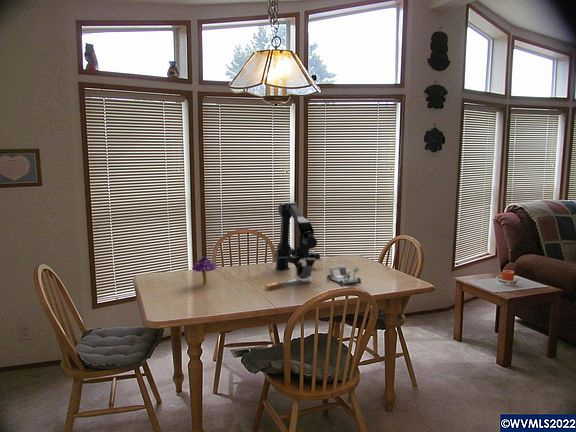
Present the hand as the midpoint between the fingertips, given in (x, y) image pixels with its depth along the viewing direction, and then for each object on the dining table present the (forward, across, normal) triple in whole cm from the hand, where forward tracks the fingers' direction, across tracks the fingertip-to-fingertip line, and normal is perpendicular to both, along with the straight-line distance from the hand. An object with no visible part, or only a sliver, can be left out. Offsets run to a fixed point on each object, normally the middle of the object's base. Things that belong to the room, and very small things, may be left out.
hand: (303, 273), depth 242 cm
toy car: (+5, -17, +14) cm, 23 cm away
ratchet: (+4, +10, 0) cm, 11 cm away
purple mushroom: (+4, +44, -28) cm, 52 cm away
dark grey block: (+1, 0, 0) cm, 1 cm away
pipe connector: (+4, -24, -20) cm, 32 cm away
